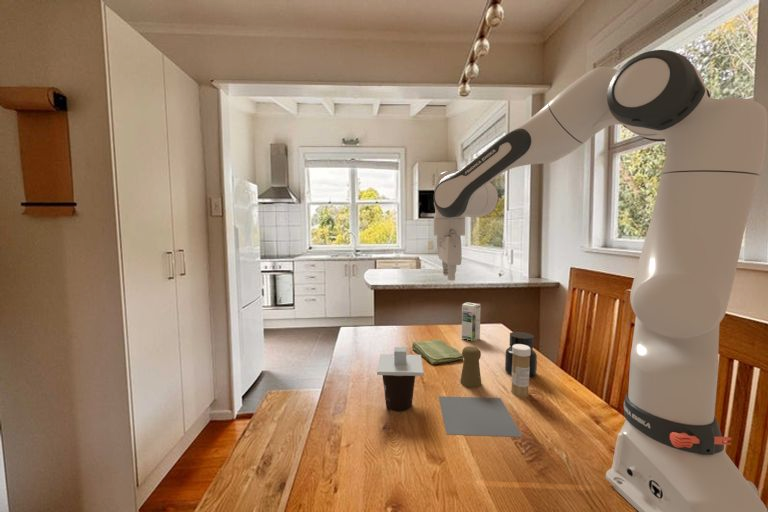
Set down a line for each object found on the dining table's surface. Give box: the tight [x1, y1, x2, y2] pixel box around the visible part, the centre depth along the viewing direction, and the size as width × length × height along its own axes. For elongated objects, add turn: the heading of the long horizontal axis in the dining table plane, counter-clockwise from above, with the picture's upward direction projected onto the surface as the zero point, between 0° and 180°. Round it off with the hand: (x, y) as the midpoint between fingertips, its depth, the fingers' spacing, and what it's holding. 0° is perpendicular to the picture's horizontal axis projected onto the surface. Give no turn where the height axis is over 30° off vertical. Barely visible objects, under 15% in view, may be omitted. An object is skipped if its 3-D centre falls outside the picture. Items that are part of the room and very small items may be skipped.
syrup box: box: [460, 302, 482, 342], centre depth 132 cm, size 6×6×14 cm
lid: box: [376, 346, 425, 377], centre depth 82 cm, size 11×11×4 cm
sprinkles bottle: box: [510, 344, 531, 398], centre depth 87 cm, size 5×5×13 cm
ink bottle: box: [504, 331, 538, 379], centre depth 101 cm, size 10×9×12 cm
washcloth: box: [411, 339, 464, 365], centre depth 117 cm, size 13×18×3 cm
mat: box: [438, 395, 523, 438], centre depth 77 cm, size 16×16×1 cm
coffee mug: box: [381, 375, 416, 413], centre depth 83 cm, size 12×9×10 cm
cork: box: [459, 345, 482, 389], centre depth 93 cm, size 6×6×11 cm
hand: (448, 277), depth 94 cm, fingers open, 8 cm apart
